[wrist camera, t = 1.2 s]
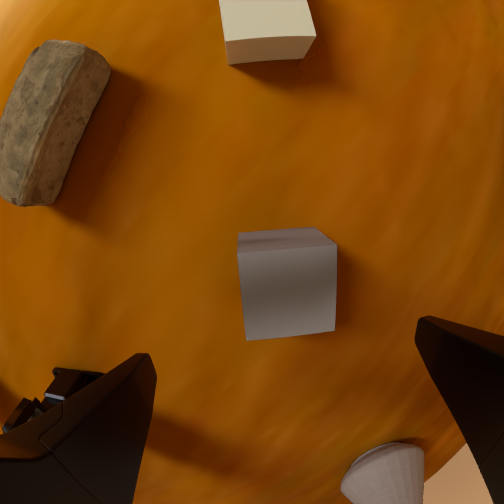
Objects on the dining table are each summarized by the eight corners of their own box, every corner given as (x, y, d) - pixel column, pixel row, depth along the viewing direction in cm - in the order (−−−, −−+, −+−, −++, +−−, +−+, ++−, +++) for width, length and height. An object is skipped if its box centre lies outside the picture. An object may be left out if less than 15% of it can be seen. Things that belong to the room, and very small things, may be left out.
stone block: (123, 65, 15) (91, 41, 11) (61, 209, 18) (20, 221, 13) (70, 51, 15) (35, 32, 10) (17, 182, 17) (-23, 188, 12)
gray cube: (314, 295, 20) (334, 330, 15) (245, 302, 20) (246, 340, 15) (313, 226, 19) (337, 244, 14) (238, 232, 19) (237, 253, 14)
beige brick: (302, 59, 16) (316, 35, 12) (228, 65, 16) (225, 41, 12) (282, -21, 14) (289, -50, 10) (216, -16, 14) (212, -46, 10)
